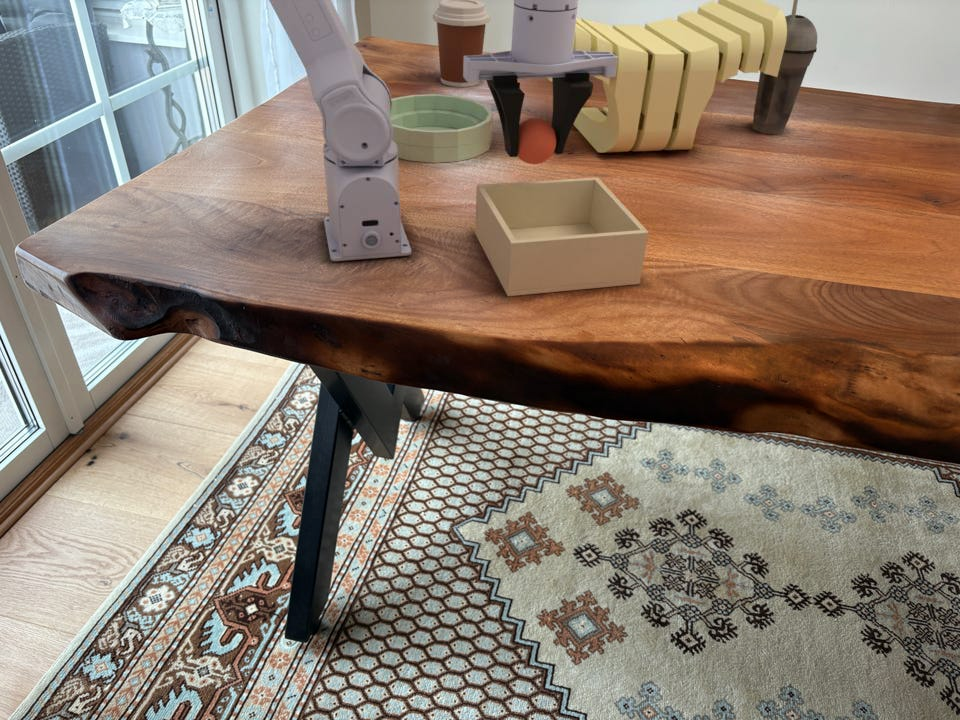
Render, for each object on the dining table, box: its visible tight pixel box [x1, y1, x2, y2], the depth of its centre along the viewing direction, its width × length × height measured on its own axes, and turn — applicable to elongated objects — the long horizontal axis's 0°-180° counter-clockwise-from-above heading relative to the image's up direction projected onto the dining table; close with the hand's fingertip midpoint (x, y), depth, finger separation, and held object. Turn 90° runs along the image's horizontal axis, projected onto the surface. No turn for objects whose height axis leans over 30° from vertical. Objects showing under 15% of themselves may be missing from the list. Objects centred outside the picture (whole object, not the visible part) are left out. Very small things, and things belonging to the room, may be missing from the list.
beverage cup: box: [751, 0, 818, 135], centre depth 107 cm, size 7×7×20 cm
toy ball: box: [517, 117, 557, 165], centre depth 76 cm, size 4×4×4 cm
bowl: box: [391, 93, 494, 164], centre depth 101 cm, size 15×15×4 cm
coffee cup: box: [432, 0, 491, 88], centre depth 124 cm, size 9×9×12 cm
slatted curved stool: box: [547, 0, 787, 154], centre depth 102 cm, size 30×16×18 cm, turn 101°
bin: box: [474, 176, 649, 297], centre depth 76 cm, size 13×13×6 cm
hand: (534, 152), depth 77 cm, fingers closed on toy ball, 4 cm apart
